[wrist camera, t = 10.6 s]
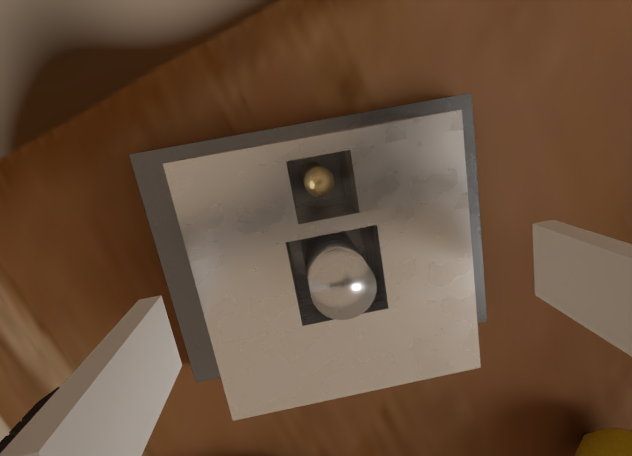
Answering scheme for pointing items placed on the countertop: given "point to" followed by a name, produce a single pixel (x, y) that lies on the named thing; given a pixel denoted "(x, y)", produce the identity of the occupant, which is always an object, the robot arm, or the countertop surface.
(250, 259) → the white boxy piece
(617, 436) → the lemon
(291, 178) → the fixture
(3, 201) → the countertop surface
